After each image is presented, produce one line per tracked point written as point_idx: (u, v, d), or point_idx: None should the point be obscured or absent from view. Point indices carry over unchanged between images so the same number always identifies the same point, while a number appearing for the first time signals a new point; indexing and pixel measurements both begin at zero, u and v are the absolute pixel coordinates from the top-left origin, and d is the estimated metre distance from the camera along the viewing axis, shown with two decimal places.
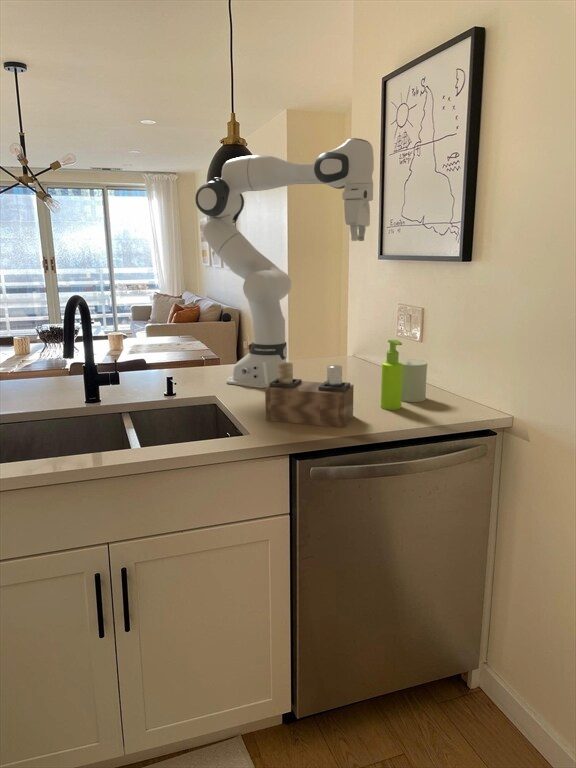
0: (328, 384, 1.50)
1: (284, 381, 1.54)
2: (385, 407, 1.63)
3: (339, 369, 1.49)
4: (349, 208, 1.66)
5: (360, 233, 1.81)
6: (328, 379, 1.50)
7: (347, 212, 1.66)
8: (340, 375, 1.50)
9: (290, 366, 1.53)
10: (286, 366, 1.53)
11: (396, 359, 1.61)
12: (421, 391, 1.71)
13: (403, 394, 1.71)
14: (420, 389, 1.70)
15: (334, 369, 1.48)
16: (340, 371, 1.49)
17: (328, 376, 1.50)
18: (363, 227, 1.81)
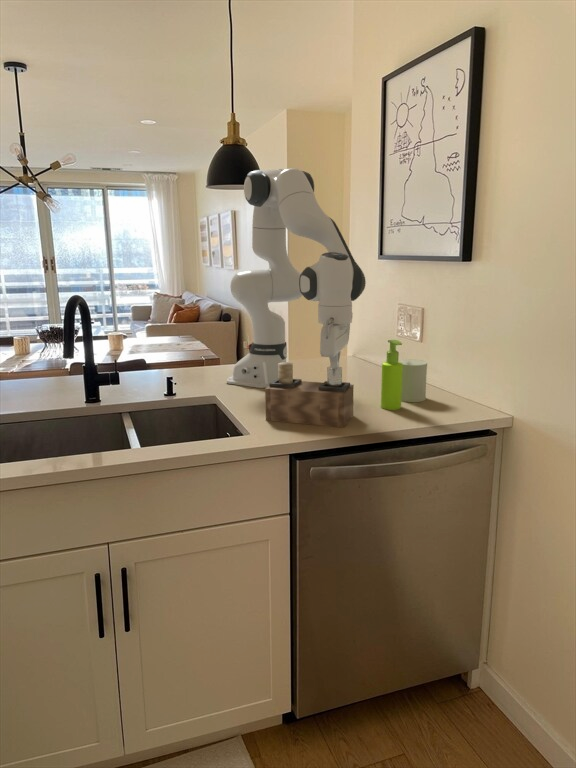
0: (328, 385, 1.51)
1: (284, 381, 1.54)
2: (385, 407, 1.63)
3: (339, 370, 1.49)
4: None
5: None
6: (328, 380, 1.50)
7: None
8: (340, 376, 1.50)
9: (290, 366, 1.53)
10: (286, 366, 1.53)
11: (396, 359, 1.61)
12: (421, 391, 1.71)
13: (403, 394, 1.71)
14: (420, 389, 1.70)
15: (334, 370, 1.49)
16: (340, 372, 1.49)
17: (328, 377, 1.50)
18: None
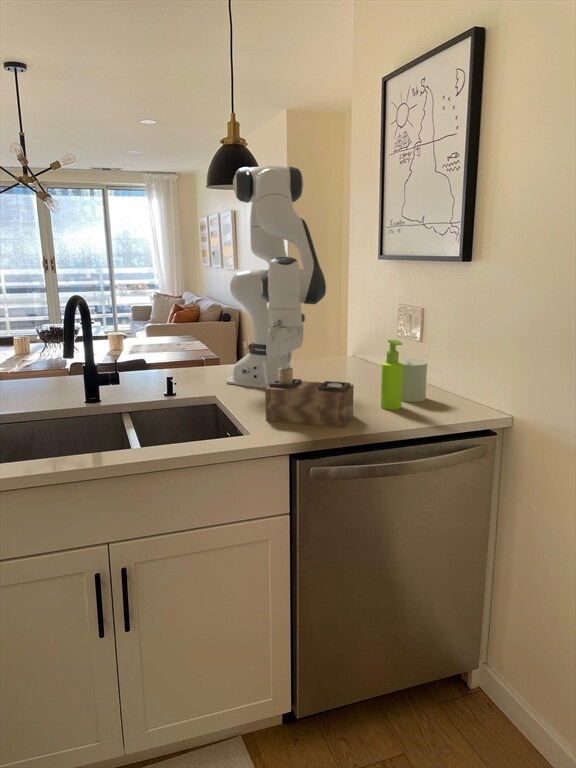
0: None
1: None
2: (385, 407, 1.63)
3: None
4: None
5: None
6: None
7: None
8: None
9: (290, 371, 1.54)
10: (286, 371, 1.53)
11: (396, 359, 1.61)
12: (421, 391, 1.71)
13: (403, 394, 1.71)
14: (420, 389, 1.70)
15: None
16: None
17: None
18: None
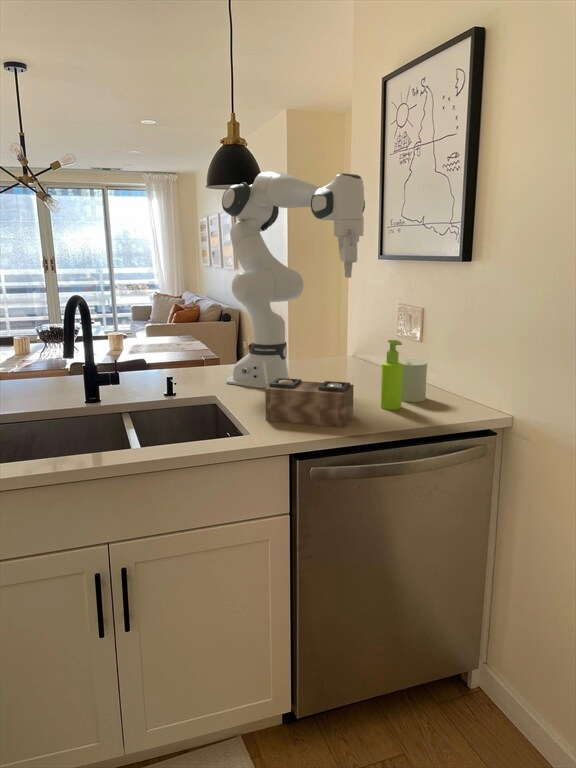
0: None
1: None
2: (385, 407, 1.63)
3: None
4: None
5: None
6: None
7: None
8: None
9: (290, 383, 1.55)
10: None
11: (396, 359, 1.61)
12: (421, 391, 1.71)
13: (403, 394, 1.71)
14: (420, 389, 1.70)
15: None
16: None
17: None
18: None
